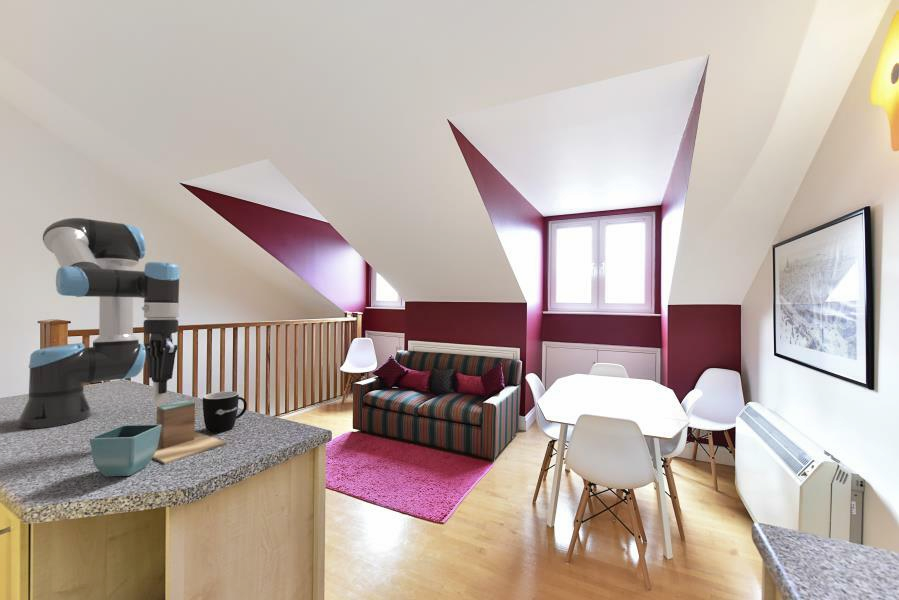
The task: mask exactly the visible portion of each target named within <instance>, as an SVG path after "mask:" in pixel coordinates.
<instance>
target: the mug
mask: <svg viewBox="0 0 899 600" xmlns="http://www.w3.org/2000/svg"><path fill="white" fill-rule="evenodd" d="M239 400H240V401H242V403H243V409H242V410H241V412H240V413H239V414H238V408H239ZM247 407H248V402H247V400H246V399H245V397H244V398H243V397H242V396H239V393H238V392H237V391H230V390H229V391H227V390H226V391H217V392H211V393H208V394H205V395H204V396H202V414H203V422H204V427H205V430H206V431H207V432H208V433H211V434H218V433H224V432H228V431H230V430H232V429H233V428H234V427H235V425H236V421H237V420H238V419H239V418H241V417H242V416H243V415H244V414H245V413H246V410H247Z"/></svg>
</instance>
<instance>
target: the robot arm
mask: <svg viewBox="0 0 899 600" xmlns="http://www.w3.org/2000/svg"><path fill="white" fill-rule="evenodd" d="M42 241H43V245H44V246H45V248H46V249H47V250H48V251H49V252H51V253H52V254H53V255H54V256H55V258H56V261H57V262H58V264H59V266H60V267H58V269H57V271H56V275H55V287H56V292H57V293H58V295H61V296H65V297H66V296H67V297H68V296H69V297H76V298H80V297H81V298H82V297H90V298H91V297H99V303H98V304H99V306H98V307H99V310H98V311H99V312H98V313H99V314H98V315H99V317H98V319H99V320H98V323H99V325H98V329H99V331H98V337H97V338H95V339H94V340H93V341H92V347H91V346H90V347H88V346H87V347H86V344H85V343H82V342H81V343H68V344H61V345H55V346H49V347H48V346H47V347H43V348H40V349H36V350H34V351H33V352H32V353H30V355H29V363H28V368H29V379H28V400H27V402H26V404H25V406H24V408H23V411H22V413H21V414H20V417H19V418H18V419H19V420H18V427H19V428H22V429H41V428H49V427H57V426H64V425H69V424H73V423H76V422H80V421H83V420H86V419H87V418H90V417H91V413H92V412H91V411H92V409H91V407H90V404H89V402H88V399H87V397H86V395H85V393H84V385H85V384H90V383H100V382H107V381H108V382H109V381H117V380H120V381H121V380H124V379H130V378H134V377H137V376H138V375H139V374H140V373H142V370H143V368H144V365H145V362H146V361H147V371H148V372H147V374H148V378H149V379H151V381H152V406H153V407H157V406H162V405H167V404H168V382H169V380H171V379H172V378H173V374H174V369H175V367H174V366H175V358H176V353H177V351H178V345H177V344H173V336H172V335H173V334H175V333H178V332H179V320H178V319H177V318H179V315H180V314H179V313H180V311H179V310H180V302H179V300H180V299H179V298H180V294H179V293H180V279H181V276H180V267H179V266H178V264H177V263H176V264H175V263H172V262H171V263H170V262H160V261H159V262H158V261H150V262H147V263H145V265H144V271H141V270H134V267H135V266H137V265H138V264H139V260H142V259H144V257H146V256H145V255H146V248H147V246H146V240H145V236H144V234H143V232H142V231H141V229H140V228H139V227H137V226H135V225H130V224H125V223H121V222H118V223H117V222H112V221H111V222H110V221H106V220H105V221H103V220H95V219H89V218H84V217H83V218H82V217H72V218H71V217H70V218H64V219H61V220H58V221H56V222H52V224H50V225H49V226H48V227H46V228H45V230H44V232H43V234H42ZM134 298H141V299H143V306H142V307H141V310H142V311H143V318H144V321H143V323H142V324H143V333H144V334H146V335H147V334H148V335H150V337H149V341H148V342H147V343H146V342H145V343H144V344H142V343H139V338H138V337H136V336H135V335H134Z"/></svg>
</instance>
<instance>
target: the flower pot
mask: <svg viewBox="0 0 899 600" xmlns="http://www.w3.org/2000/svg"><path fill="white" fill-rule="evenodd" d="M161 426H162V425H156V424H125V425H120V426H117V427H115V428H113V429H110V430H107V431H104V432H102V433H99V434H97V435H93V436H91V437H90V438H89V443H90V451H91V455H92V456H91V457H92V461H93V464H94V466H95V467H96V469H97V470H98V471H99V472H100V474H102V475H103V476H104V477H128V476H132V475H134V474H135V473H137V472H139V471H141V470H142V469H144V468H146V467H147V466H148V465H149V463H150V462H151V461H152V458H153V456H154V454H155V452H156V449H157V447H158V443H159V437H160V432H161Z"/></svg>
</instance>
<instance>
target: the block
mask: <svg viewBox="0 0 899 600" xmlns="http://www.w3.org/2000/svg"><path fill="white" fill-rule="evenodd" d="M195 418H196V402H195V401H191V400H182V401H177V402H174V403H167V404H165V405H160V406H156V424H155V425H162V426H161V432H160V437H159V443H158V447H160V448H163V449H165V448H168V447H172V446H175V445H179V444H182V443H185V442H189V441H192V440H194V431H195V432H196V430H195V426H196V425H195V423H196V421H195V420H196V419H195Z"/></svg>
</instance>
